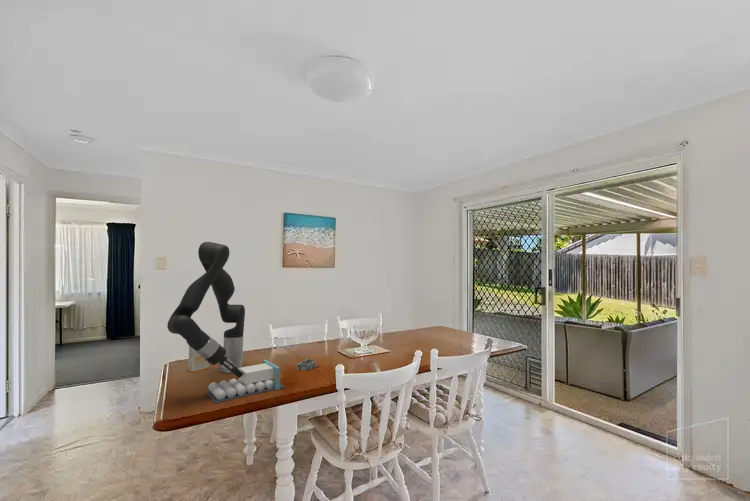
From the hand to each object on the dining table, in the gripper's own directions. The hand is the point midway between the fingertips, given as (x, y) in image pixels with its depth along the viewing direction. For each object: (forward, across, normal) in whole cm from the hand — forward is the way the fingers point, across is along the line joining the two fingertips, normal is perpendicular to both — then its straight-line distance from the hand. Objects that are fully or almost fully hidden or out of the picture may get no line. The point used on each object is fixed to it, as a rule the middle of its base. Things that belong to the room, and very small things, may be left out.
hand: (240, 375), depth 147 cm
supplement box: (0, +42, +10) cm, 43 cm away
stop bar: (+14, 0, -5) cm, 15 cm away
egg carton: (+32, +13, -22) cm, 42 cm away
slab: (+6, 0, -3) cm, 7 cm away
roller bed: (+6, 0, +3) cm, 7 cm away
